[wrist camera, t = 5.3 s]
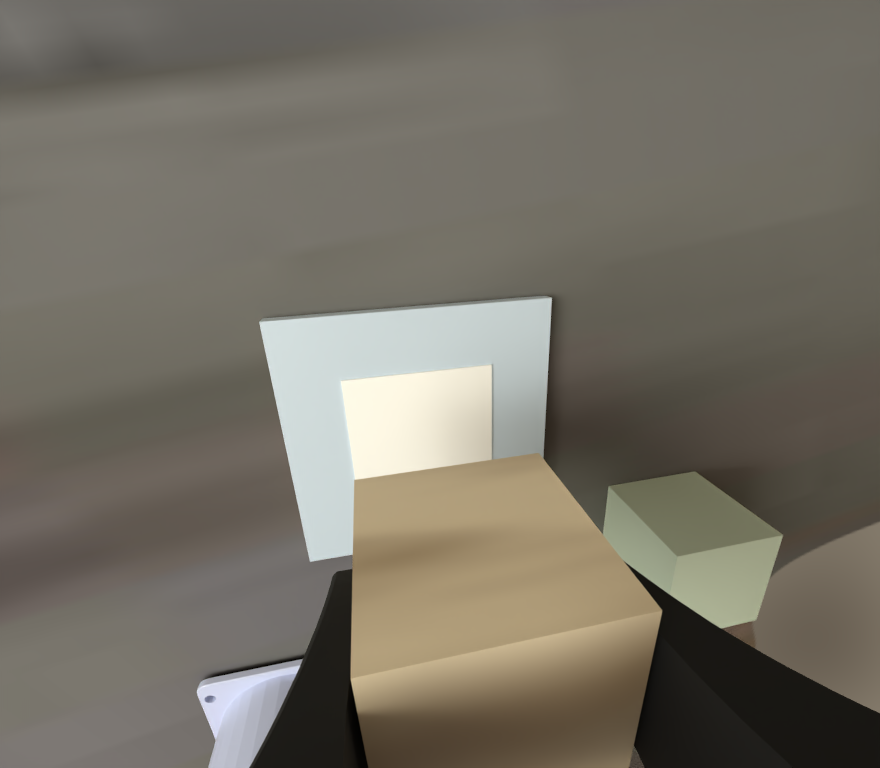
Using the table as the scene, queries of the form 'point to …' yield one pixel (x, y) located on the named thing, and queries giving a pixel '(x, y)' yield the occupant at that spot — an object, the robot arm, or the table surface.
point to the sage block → (694, 544)
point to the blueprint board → (403, 397)
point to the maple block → (493, 623)
